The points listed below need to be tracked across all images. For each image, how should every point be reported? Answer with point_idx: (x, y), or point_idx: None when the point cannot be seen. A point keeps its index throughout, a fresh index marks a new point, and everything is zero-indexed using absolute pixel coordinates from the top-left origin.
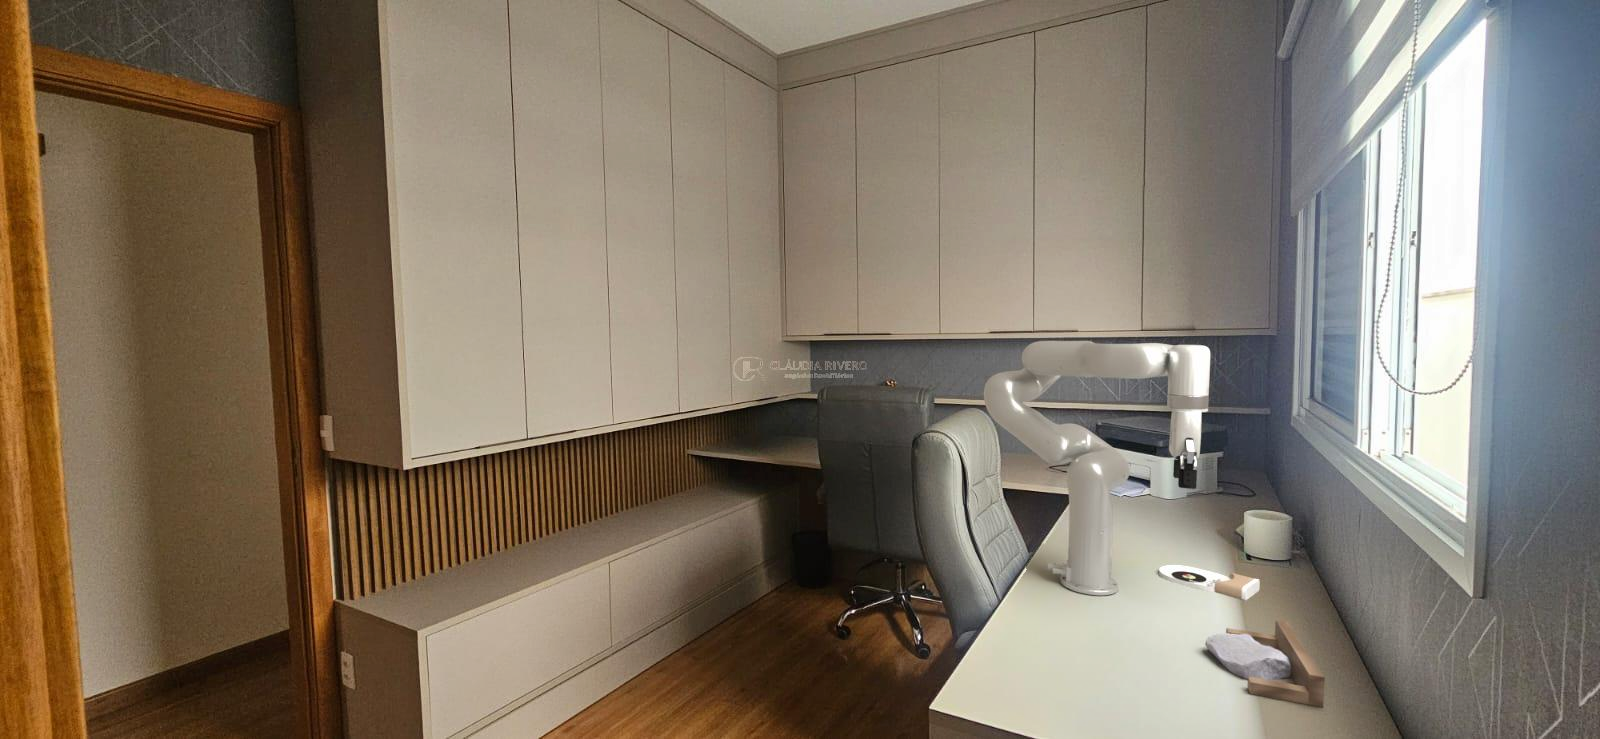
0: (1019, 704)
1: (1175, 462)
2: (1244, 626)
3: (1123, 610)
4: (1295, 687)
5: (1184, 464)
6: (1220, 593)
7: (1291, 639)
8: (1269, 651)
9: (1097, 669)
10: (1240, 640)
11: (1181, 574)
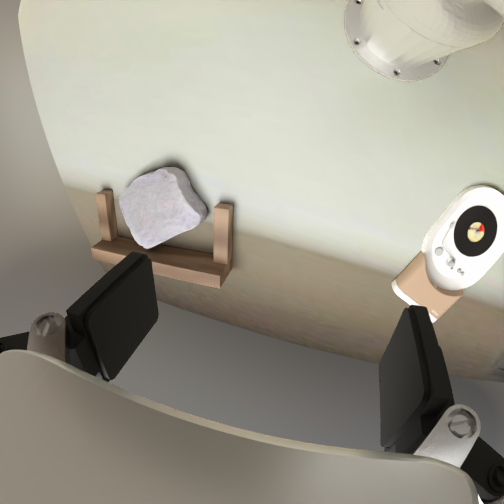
0: (36, 14)
1: (422, 386)
2: (286, 243)
3: (291, 68)
4: (105, 232)
5: (27, 341)
6: (416, 256)
7: (163, 268)
8: (136, 232)
9: (93, 47)
10: (170, 212)
11: (484, 223)
